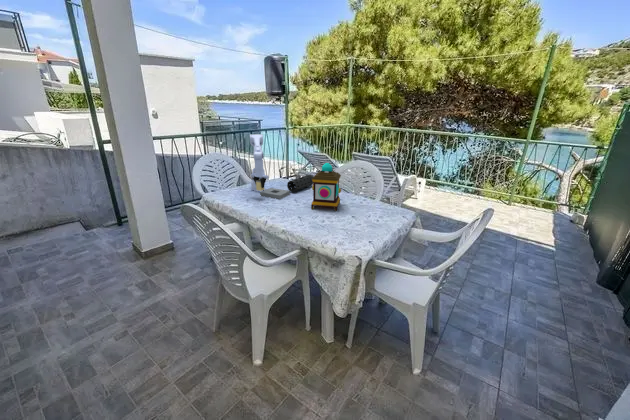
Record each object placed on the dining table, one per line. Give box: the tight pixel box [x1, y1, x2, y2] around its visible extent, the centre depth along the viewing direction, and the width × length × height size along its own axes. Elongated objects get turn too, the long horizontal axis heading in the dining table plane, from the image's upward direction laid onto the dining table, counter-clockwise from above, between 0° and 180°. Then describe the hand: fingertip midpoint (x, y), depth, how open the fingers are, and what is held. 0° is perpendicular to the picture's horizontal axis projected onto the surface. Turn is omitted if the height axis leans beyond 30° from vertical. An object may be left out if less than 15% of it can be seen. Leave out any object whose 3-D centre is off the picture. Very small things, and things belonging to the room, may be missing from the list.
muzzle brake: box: [286, 174, 315, 194], centre depth 228 cm, size 10×28×10 cm, turn 147°
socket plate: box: [259, 187, 291, 200], centre depth 212 cm, size 18×14×3 cm
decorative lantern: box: [310, 162, 342, 212], centre depth 185 cm, size 20×20×30 cm
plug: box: [256, 180, 265, 192], centre depth 200 cm, size 4×4×7 cm
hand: (260, 187), depth 201 cm, fingers closed on plug, 4 cm apart
